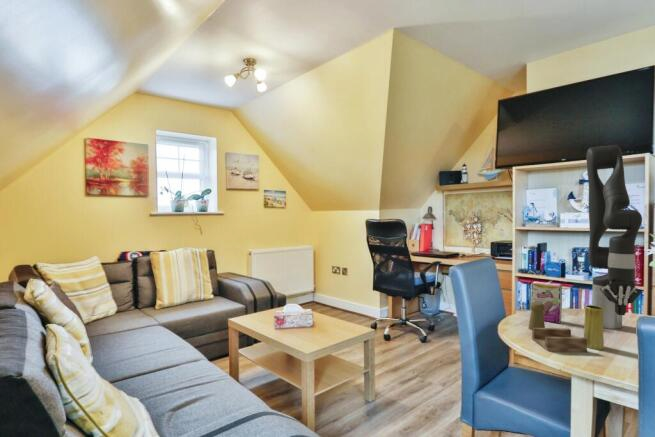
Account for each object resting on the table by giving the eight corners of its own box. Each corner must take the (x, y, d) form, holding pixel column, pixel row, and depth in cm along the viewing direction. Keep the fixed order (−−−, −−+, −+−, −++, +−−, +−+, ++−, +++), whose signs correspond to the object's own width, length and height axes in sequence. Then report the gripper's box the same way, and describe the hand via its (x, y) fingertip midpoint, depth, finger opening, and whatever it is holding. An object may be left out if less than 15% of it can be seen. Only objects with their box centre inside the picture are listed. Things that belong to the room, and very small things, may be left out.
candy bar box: (530, 319, 162) (531, 282, 162) (533, 316, 166) (533, 281, 166) (559, 324, 155) (560, 286, 155) (561, 321, 159) (562, 284, 159)
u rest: (568, 340, 136) (568, 328, 136) (586, 352, 125) (587, 339, 125) (532, 339, 137) (532, 327, 137) (547, 350, 126) (547, 338, 126)
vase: (607, 350, 126) (608, 309, 126) (588, 349, 127) (588, 308, 127) (598, 344, 132) (599, 305, 132) (579, 342, 133) (580, 304, 133)
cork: (544, 328, 150) (544, 301, 150) (546, 332, 145) (546, 305, 144) (527, 326, 153) (528, 300, 152) (529, 330, 147) (529, 303, 147)
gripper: (633, 265, 131) (632, 312, 132) (594, 264, 133) (593, 311, 133) (649, 268, 124) (648, 318, 124) (608, 267, 125) (607, 317, 125)
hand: (620, 314), depth 129 cm, fingers closed
